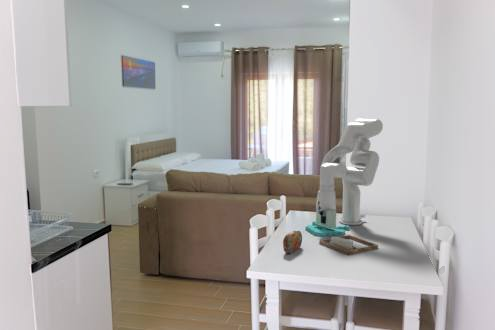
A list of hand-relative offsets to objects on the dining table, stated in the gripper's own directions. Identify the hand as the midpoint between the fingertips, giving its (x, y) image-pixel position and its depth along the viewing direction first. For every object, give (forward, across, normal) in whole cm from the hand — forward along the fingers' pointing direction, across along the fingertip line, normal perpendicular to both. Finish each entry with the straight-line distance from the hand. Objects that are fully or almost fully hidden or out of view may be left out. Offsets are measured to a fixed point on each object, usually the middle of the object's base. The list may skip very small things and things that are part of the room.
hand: (325, 222), depth 227 cm
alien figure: (+5, 0, 0) cm, 5 cm away
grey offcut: (+3, +12, +24) cm, 27 cm away
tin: (+5, +34, +16) cm, 38 cm away
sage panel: (+2, 0, 0) cm, 2 cm away
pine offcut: (+5, +12, +24) cm, 27 cm away
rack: (+5, +7, +24) cm, 26 cm away
